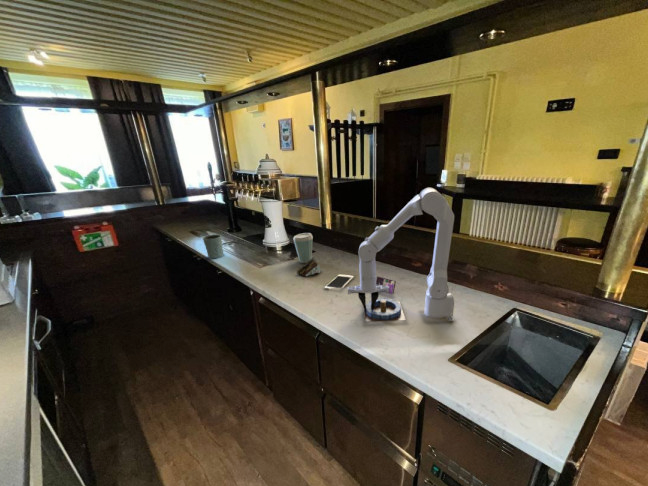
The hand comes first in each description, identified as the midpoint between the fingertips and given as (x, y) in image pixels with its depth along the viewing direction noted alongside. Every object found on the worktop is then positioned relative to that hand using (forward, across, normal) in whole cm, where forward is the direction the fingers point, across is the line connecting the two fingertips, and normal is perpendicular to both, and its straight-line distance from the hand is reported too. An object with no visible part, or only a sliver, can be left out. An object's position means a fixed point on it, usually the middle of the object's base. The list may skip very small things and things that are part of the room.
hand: (368, 310), depth 110 cm
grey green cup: (+2, +88, -78) cm, 118 cm away
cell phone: (+2, +12, -30) cm, 32 cm away
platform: (+2, -5, 0) cm, 6 cm away
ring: (0, -5, 0) cm, 5 cm away
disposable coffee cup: (+2, +32, -62) cm, 70 cm away
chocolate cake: (+2, +27, -43) cm, 51 cm away
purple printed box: (+2, -8, -18) cm, 20 cm away
